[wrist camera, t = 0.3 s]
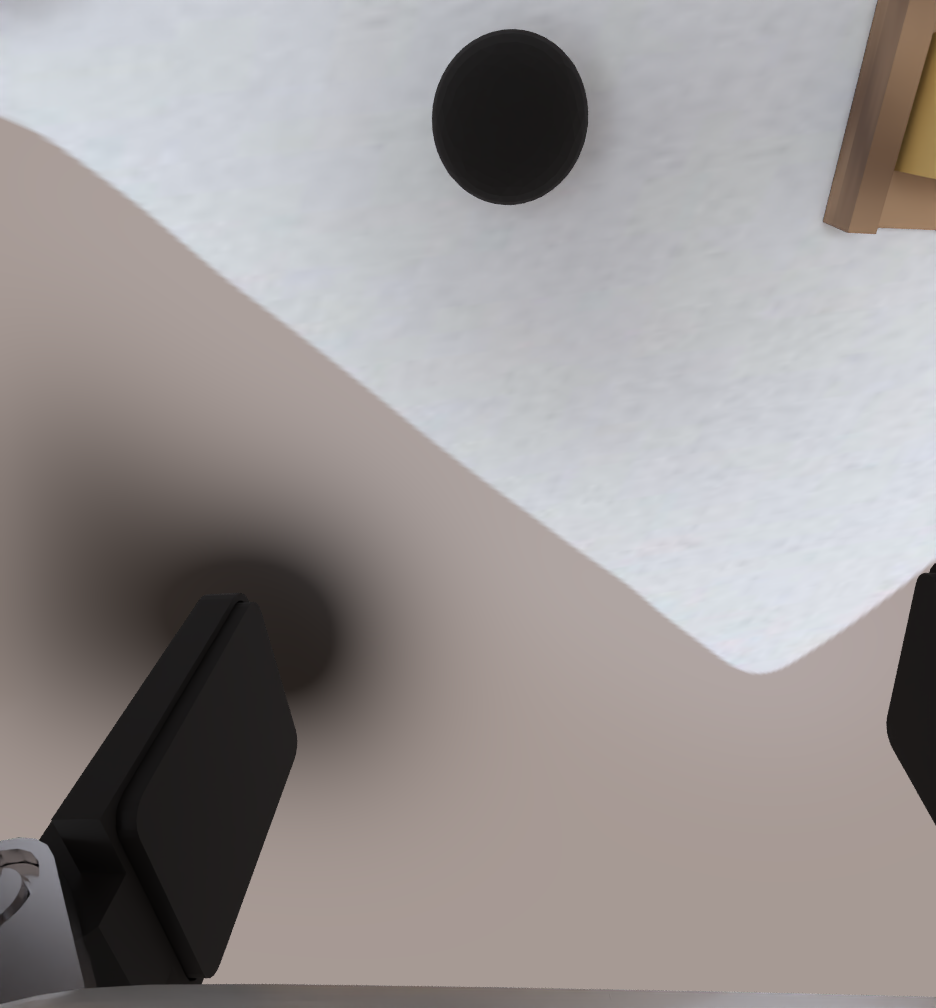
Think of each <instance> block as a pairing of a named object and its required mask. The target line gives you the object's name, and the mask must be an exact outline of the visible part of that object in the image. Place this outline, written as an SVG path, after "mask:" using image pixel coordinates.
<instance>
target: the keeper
mask: <svg viewBox="0 0 936 1008" xmlns="http://www.w3.org/2000/svg"><path fill="white" fill-rule="evenodd" d="M894 171H899V172H904V173H909V174H913V175H918V176H923V177H928V178H933V179H936V32H935V33H933V35H932V38H931V42H930V45H929V49H928V52H927V56H926V60H925V63H924V67H923V70H922V74H921V77H920V81H919V84H918V88H917V91H916V95H915V98H914V102H913V105H912V109H911V112H910V116H909V119H908V123H907V126H906V130H905V133H904V137H903V141H902V144H901V148H900V151H899V155H898V158H897V162H896V165H895V169H894Z"/></svg>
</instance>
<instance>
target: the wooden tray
mask: <svg viewBox="0 0 936 1008" xmlns="http://www.w3.org/2000/svg"><path fill="white" fill-rule="evenodd" d="M935 32H936V0H878V2H877V6H876V10H875V14H874V18H873V22H872V26H871V30H870V34H869V38H868V42H867V46H866V50H865V54H864V58H863V63H862V67H861V71H860V75H859V79H858V83H857V87H856V91H855V95H854V99H853V103H852V107H851V111H850V115H849V119H848V123H847V127H846V131H845V135H844V139H843V143H842V147H841V151H840V155H839V159H838V163H837V167H836V171H835V175H834V179H833V183H832V187H831V191H830V195H829V199H828V203H827V207H826V211H825V215H824V219H823V222H824V223H827V224H829V225H831V226H834V227H836V228H838V229H841V230H843V231H845V232H847V233H866V234H876V232H877V229H878V228H900V229H924V230H936V179H933V178H928V177H923V176H918V175H913V174H909V173H904V172H899V171H894V169H895V165H896V162H897V158H898V155H899V151H900V148H901V144H902V141H903V137H904V133H905V130H906V126H907V123H908V119H909V116H910V112H911V109H912V105H913V102H914V98H915V95H916V91H917V88H918V84H919V81H920V77H921V74H922V70H923V67H924V63H925V60H926V56H927V52H928V49H929V45H930V42H931V38H932V35H933V33H935Z"/></svg>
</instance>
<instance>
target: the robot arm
mask: <svg viewBox="0 0 936 1008" xmlns="http://www.w3.org/2000/svg"><path fill="white" fill-rule="evenodd" d="M887 734H888V738H889V741H890V744H891V746H892V748H893V750H894V752H895V754H896V755H897V757H898V759H899V761H900V763H901V764H902V766H903V768H904V769H905V771H906V773H907V775H908V777H909V778H910V780H911V782H912V784H913V785H914V787H915V789H916V791H917V793H918V794H919V796H920V798H921V800H922V802H923V804H924V805H925V807H926V809H927V811H928V812H929V814H930V816H931V818H932V820H933V821H934V823H935V825H936V563H935V564H934V565H933V566H932V568H931V569H930V572H929V573H923V574H921V575H920V576H919V577H918V579H917V582H916V586H915V590H914V595H913V600H912V604H911V609H910V613H909V619H908V623H907V627H906V633H905V637H904V641H903V646H902V651H901V656H900V660H899V664H898V669H897V674H896V678H895V683H894V688H893V692H892V697H891V702H890V706H889V711H888V715H887ZM296 749H297V734H296V729H295V726H294V723H293V719H292V716H291V712H290V709H289V705H288V702H287V699H286V695H285V692H284V688H283V685H282V681H281V678H280V675H279V671H278V668H277V664H276V661H275V658H274V654H273V651H272V648H271V644H270V640H269V637H268V634H267V630H266V627H265V623H264V620H263V616H262V613H261V610H260V607H259V606H258V604H257V603H255V602H249V601H248V599H247V597H246V596H245V595H244V594H242V593H232V594H210V595H204V596H202V597H201V599H200V600H199V601H198V602H197V604H196V605H195V607H194V608H193V610H192V611H191V613H190V614H189V616H188V617H187V619H186V620H185V622H184V623H183V625H182V626H181V628H180V629H179V631H178V632H177V634H176V635H175V637H174V638H173V640H172V641H171V643H170V644H169V646H168V647H167V648H166V650H165V651H164V653H163V654H162V656H161V658H160V659H159V660H158V662H157V663H156V665H155V666H154V668H153V669H152V671H151V672H150V674H149V675H148V677H147V678H146V680H145V681H144V683H143V684H142V686H141V687H140V689H139V690H138V692H137V693H136V695H135V696H134V697H133V699H132V700H131V702H130V703H129V705H128V706H127V708H126V710H125V711H124V712H123V714H122V715H121V717H120V718H119V720H118V721H117V723H116V724H115V726H114V727H113V729H112V730H111V732H110V733H109V735H108V736H107V738H106V739H105V741H104V742H103V744H102V745H101V747H100V748H99V749H98V751H97V753H96V754H95V756H94V757H93V758H92V760H91V761H90V763H89V764H88V766H87V767H86V769H85V770H84V772H83V773H82V775H81V776H80V778H79V779H78V781H77V782H76V784H75V785H74V787H73V788H72V790H71V791H70V793H69V794H68V796H67V797H66V799H65V800H64V801H63V803H62V804H61V806H60V808H59V809H58V810H57V812H56V814H55V815H54V816H53V818H52V819H51V820H52V821H51V823H50V825H49V826H48V828H47V829H46V830H45V832H44V834H43V835H42V836H41V838H40V839H39V840H37V839H33V838H21V837H18V838H13V839H8V840H3V841H0V1008H936V997H916V996H914V997H913V996H876V995H835V994H834V995H833V994H794V993H756V992H710V991H709V992H708V991H662V990H661V991H660V990H613V989H612V990H611V989H560V988H507V987H505V988H504V987H446V986H445V987H444V986H440V987H439V986H375V985H304V984H299V985H298V984H202V982H203V979H204V978H211V977H212V976H214V974H215V973H216V971H217V969H218V967H219V965H220V963H221V960H222V957H223V954H224V951H225V949H226V946H227V943H228V940H229V938H230V935H231V932H232V929H233V927H234V924H235V921H236V918H237V916H238V913H239V910H240V907H241V904H242V902H243V899H244V896H245V894H246V891H247V888H248V885H249V883H250V880H251V877H252V874H253V872H254V869H255V866H256V863H257V861H258V858H259V855H260V852H261V850H262V847H263V844H264V841H265V839H266V836H267V833H268V830H269V827H270V825H271V822H272V819H273V817H274V814H275V811H276V808H277V806H278V803H279V800H280V797H281V795H282V792H283V789H284V786H285V784H286V781H287V778H288V775H289V772H290V770H291V767H292V764H293V762H294V759H295V755H296Z"/></svg>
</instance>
